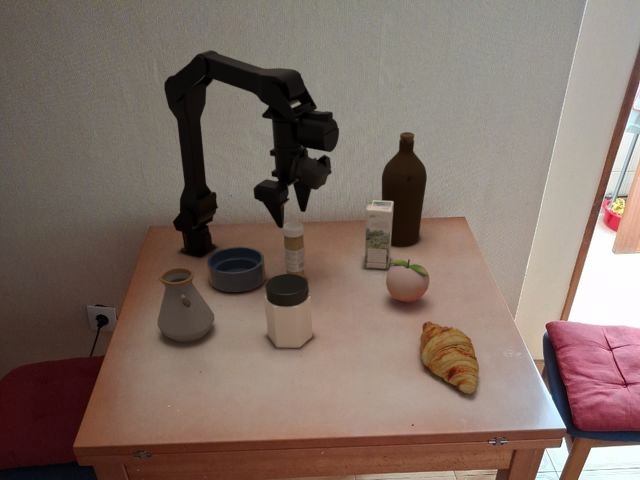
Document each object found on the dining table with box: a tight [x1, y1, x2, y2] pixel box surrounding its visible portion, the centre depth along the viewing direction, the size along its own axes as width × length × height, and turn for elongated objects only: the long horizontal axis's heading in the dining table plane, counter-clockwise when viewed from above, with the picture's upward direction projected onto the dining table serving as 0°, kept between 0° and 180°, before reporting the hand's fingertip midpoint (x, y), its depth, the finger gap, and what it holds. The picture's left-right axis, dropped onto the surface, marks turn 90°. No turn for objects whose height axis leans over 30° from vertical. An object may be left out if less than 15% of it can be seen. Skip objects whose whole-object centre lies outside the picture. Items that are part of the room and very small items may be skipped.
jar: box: [264, 273, 313, 349], centre depth 119 cm, size 9×8×12 cm
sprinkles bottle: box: [282, 220, 307, 280], centre depth 136 cm, size 5×5×13 cm
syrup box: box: [364, 199, 394, 271], centre depth 140 cm, size 6×6×14 cm
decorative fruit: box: [385, 259, 430, 303], centre depth 129 cm, size 9×8×10 cm
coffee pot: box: [157, 267, 215, 343], centre depth 117 cm, size 21×12×15 cm, turn 18°
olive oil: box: [381, 131, 428, 247], centre depth 147 cm, size 11×11×25 cm
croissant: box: [419, 321, 480, 394], centre depth 113 cm, size 21×10×8 cm, turn 16°
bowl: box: [206, 246, 267, 293], centre depth 139 cm, size 13×13×5 cm
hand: (292, 219), depth 132 cm, fingers open, 9 cm apart
